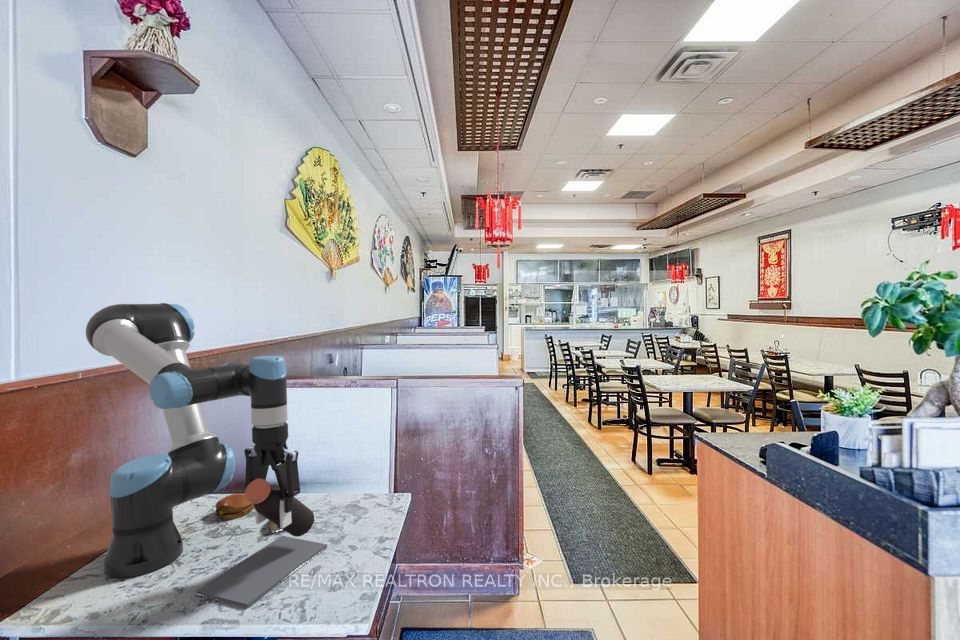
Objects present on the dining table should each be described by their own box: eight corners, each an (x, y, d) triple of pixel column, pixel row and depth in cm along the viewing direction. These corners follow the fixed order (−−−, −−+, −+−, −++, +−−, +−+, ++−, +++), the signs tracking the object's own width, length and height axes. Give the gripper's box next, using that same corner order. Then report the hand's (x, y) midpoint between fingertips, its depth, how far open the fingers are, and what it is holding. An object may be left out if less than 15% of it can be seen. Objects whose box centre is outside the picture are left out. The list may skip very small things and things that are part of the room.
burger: (256, 504, 141) (255, 488, 140) (250, 517, 132) (249, 501, 131) (220, 508, 138) (219, 493, 138) (211, 523, 129) (210, 506, 129)
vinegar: (287, 540, 114) (236, 507, 100) (292, 512, 118) (244, 477, 105) (313, 533, 113) (265, 500, 99) (316, 506, 118) (272, 470, 104)
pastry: (265, 521, 129) (265, 508, 129) (291, 515, 132) (291, 502, 132) (271, 535, 121) (270, 521, 121) (298, 528, 125) (298, 514, 124)
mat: (195, 594, 96) (195, 590, 96) (282, 538, 119) (281, 535, 119) (247, 608, 91) (247, 604, 91) (327, 547, 114) (327, 544, 114)
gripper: (315, 422, 106) (319, 521, 107) (250, 417, 113) (254, 510, 114) (292, 431, 99) (295, 537, 100) (224, 425, 106) (228, 524, 107)
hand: (273, 523), depth 107 cm, fingers closed on vinegar, 6 cm apart
